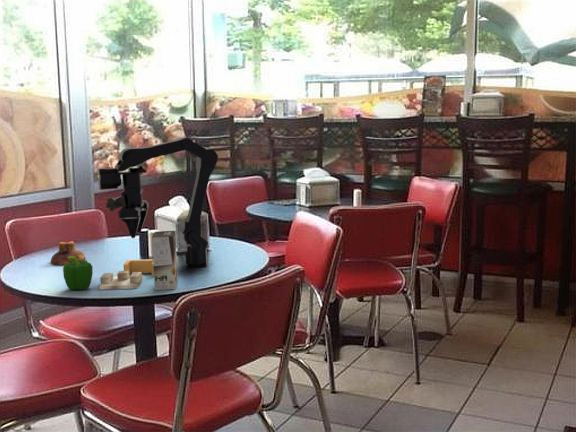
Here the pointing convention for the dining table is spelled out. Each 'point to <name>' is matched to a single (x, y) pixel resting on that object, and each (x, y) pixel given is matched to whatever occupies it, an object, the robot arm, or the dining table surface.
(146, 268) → the orange bridge block
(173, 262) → the coffee box
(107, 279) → the cream flat studded block
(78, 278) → the bell pepper
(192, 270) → the dining table surface
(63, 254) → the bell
